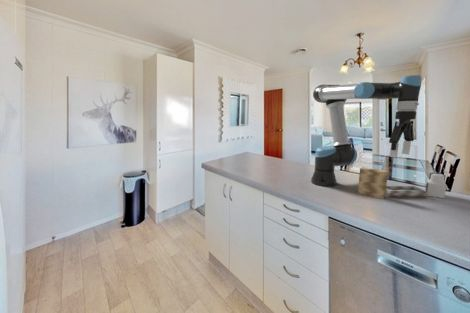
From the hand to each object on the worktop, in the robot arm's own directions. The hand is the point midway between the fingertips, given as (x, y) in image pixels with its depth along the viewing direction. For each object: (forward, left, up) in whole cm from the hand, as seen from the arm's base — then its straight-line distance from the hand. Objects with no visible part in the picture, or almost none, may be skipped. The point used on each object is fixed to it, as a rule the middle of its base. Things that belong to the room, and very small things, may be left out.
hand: (399, 155), depth 104 cm
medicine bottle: (+3, +27, -23) cm, 36 cm away
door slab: (-10, -3, -23) cm, 25 cm away
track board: (-4, +12, -23) cm, 27 cm away
